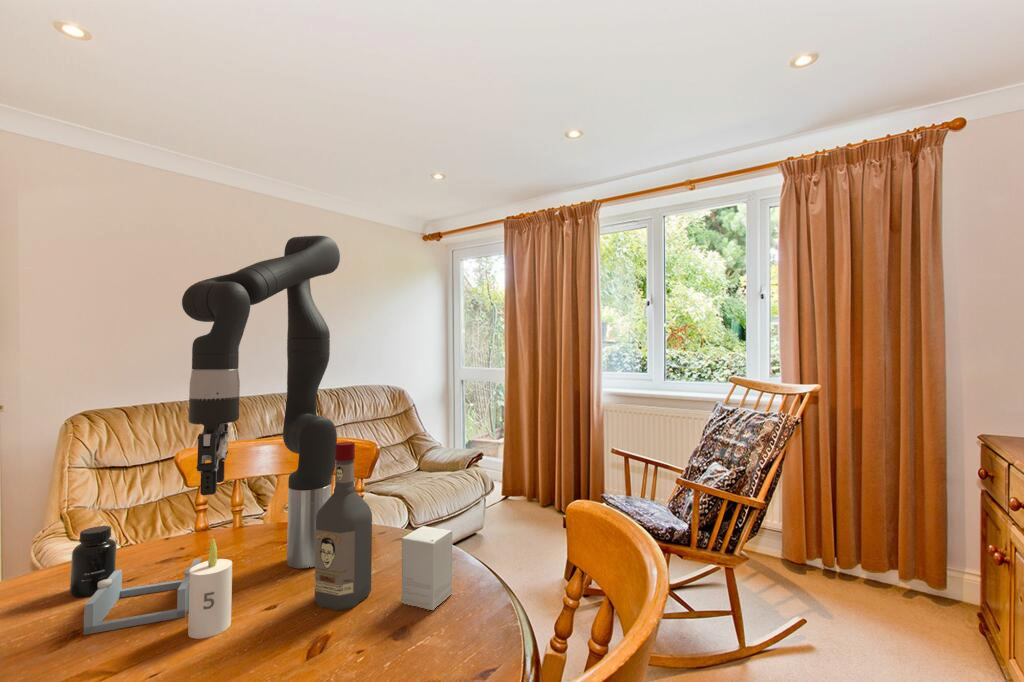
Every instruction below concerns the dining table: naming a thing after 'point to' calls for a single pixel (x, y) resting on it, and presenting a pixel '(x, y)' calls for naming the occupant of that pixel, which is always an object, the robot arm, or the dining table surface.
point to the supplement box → (426, 567)
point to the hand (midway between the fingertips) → (212, 487)
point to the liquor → (343, 540)
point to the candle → (210, 596)
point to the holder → (113, 591)
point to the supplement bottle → (92, 560)
